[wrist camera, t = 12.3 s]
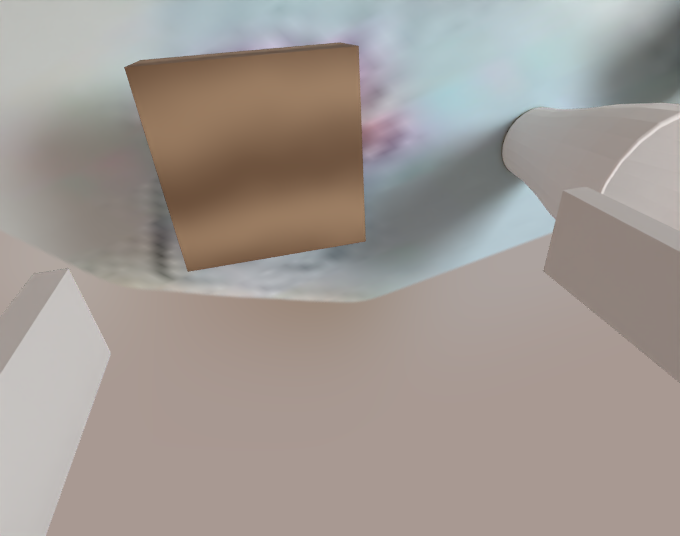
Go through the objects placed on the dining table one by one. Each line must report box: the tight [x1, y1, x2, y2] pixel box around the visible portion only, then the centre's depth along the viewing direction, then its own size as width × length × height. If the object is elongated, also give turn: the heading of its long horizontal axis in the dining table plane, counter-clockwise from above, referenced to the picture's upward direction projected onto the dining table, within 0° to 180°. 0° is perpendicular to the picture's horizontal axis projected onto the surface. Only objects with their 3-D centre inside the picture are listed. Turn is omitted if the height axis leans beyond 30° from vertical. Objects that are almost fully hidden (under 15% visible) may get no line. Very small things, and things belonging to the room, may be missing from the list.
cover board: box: [124, 43, 366, 272], centre depth 24 cm, size 11×11×4 cm
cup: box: [502, 103, 680, 231], centre depth 31 cm, size 10×10×14 cm
